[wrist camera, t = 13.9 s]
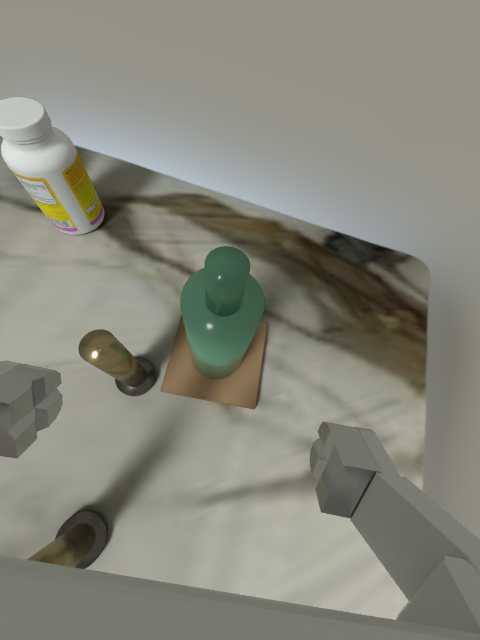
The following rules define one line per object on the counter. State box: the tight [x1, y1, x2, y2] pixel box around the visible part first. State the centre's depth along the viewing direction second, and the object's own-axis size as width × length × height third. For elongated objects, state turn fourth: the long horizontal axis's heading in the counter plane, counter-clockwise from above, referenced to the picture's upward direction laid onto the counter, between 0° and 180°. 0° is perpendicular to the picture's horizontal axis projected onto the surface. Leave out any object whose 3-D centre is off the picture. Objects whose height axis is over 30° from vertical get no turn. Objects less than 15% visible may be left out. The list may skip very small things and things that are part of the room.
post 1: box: [27, 510, 108, 569], centre depth 18 cm, size 4×4×11 cm
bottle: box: [180, 246, 265, 379], centre depth 22 cm, size 6×6×17 cm
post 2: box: [79, 330, 156, 396], centre depth 23 cm, size 4×4×11 cm
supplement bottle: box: [0, 97, 104, 235], centre depth 30 cm, size 7×7×13 cm
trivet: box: [161, 315, 267, 409], centre depth 30 cm, size 10×10×1 cm
